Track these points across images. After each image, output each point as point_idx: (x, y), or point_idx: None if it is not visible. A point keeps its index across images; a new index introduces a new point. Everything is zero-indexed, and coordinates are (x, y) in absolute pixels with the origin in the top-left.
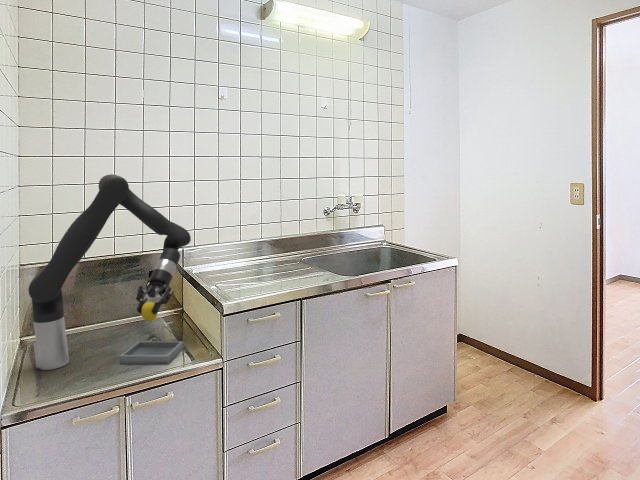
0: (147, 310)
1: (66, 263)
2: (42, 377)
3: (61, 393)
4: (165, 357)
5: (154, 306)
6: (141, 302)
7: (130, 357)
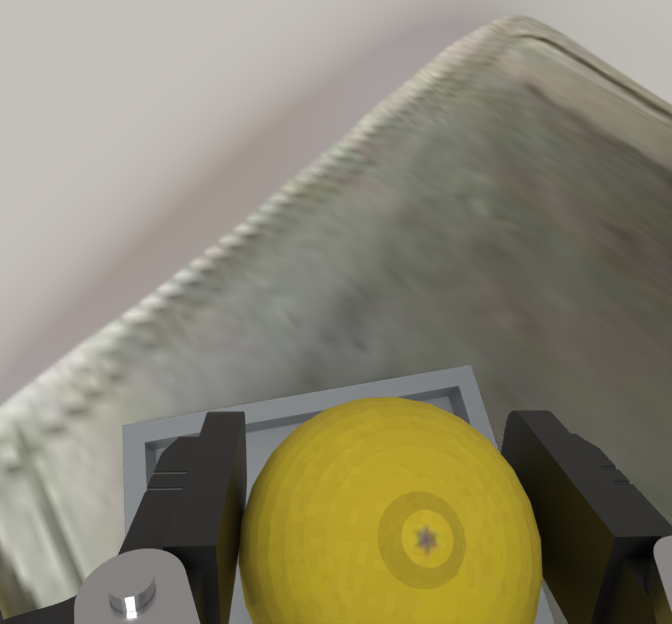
0: (331, 409)
1: None
2: None
3: (461, 109)
4: (142, 422)
5: (203, 469)
6: (620, 525)
7: (393, 379)
